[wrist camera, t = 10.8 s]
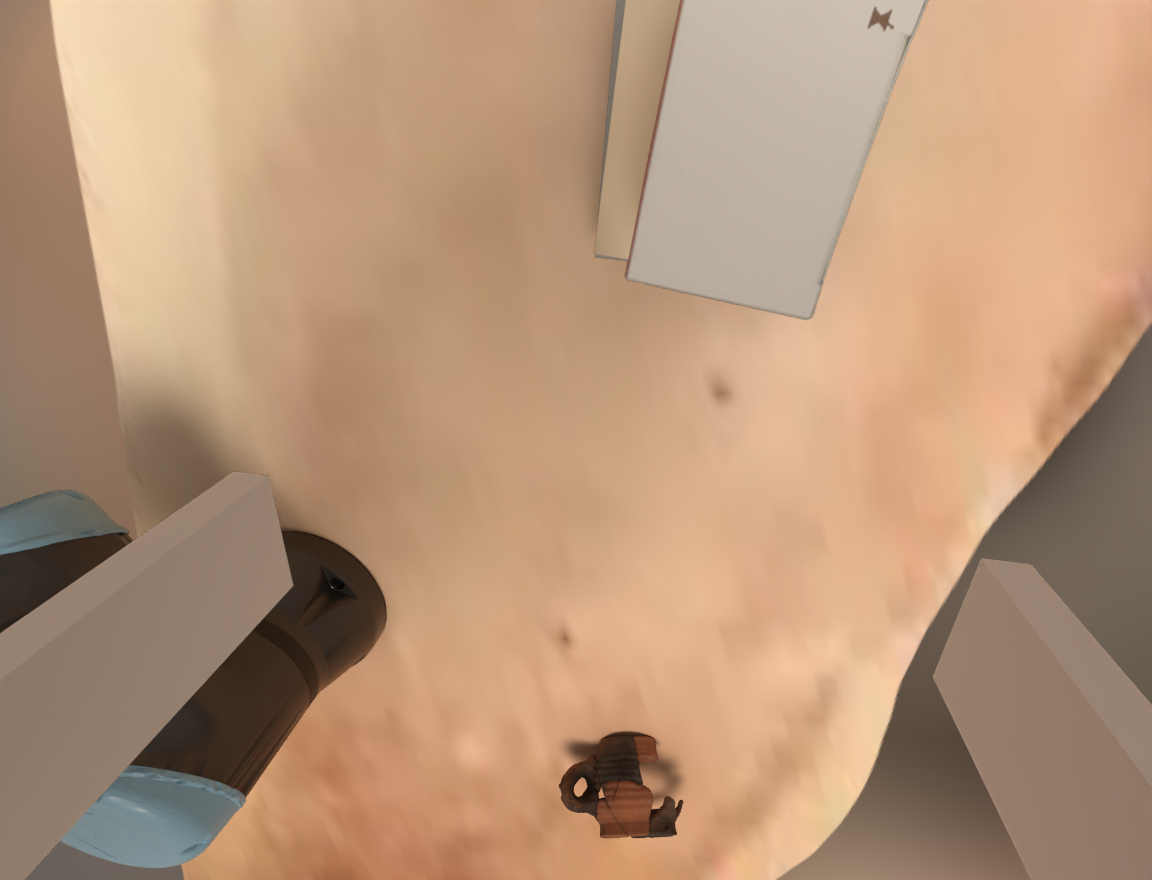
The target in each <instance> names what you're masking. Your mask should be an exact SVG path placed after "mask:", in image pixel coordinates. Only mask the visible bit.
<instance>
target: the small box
mask: <svg viewBox="0 0 1152 880" xmlns="http://www.w3.org/2000/svg"><path fill="white" fill-rule="evenodd" d="M927 3H928V0H680V3H679V8H678V13H677V18H676V23H675V28H674V33H673V38H672V43H671V48H670V53H669V58H668V63H667V67H666V72H665V77H664V82H663V87H662V92H661V97H660V102H659V107H658V111H657V116H656V121H655V126H654V131H653V136H652V141H651V146H650V150H649V155H648V161H647V166H646V171H645V176H644V182H643V187H642V192H641V197H640V202H639V207H638V213H637V218H636V223H635V228H634V233H633V238H632V243H631V248H630V253H629V258H628V263H627V268H626V273H625V278H626V279H627V280H628V281H632V282H637V283H642V284H646V285H650V286H655V287H659V288H664V289H668V290H672V291H677V292H681V293H686V294H690V295H695V296H699V297H704V298H708V299H713V300H717V301H722V302H726V303H731V304H735V305H740V306H744V307H749V308H753V309H758V310H762V311H767V312H771V313H776V314H780V315H785V316H790V317H794V318H798V319H803V320H809V319H811V318H812V317H813V314H814V312H815V308H816V305H817V301H818V298H819V295H820V292H821V288H822V285H823V282H824V279H825V276H826V273H827V270H828V267H829V264H830V261H831V258H832V255H833V252H834V249H835V246H836V243H837V240H838V238H839V235H840V232H841V229H842V227H843V224H844V221H845V218H846V216H847V213H848V210H849V207H850V205H851V202H852V199H853V196H854V193H855V191H856V188H857V185H858V182H859V179H860V176H861V174H862V171H863V168H864V165H865V163H866V160H867V157H868V155H869V152H870V149H871V146H872V143H873V141H874V138H875V135H876V133H877V130H878V127H879V125H880V122H881V119H882V117H883V114H884V111H885V108H886V106H887V103H888V100H889V97H890V95H891V92H892V90H893V87H894V84H895V82H896V79H897V77H898V74H899V71H900V69H901V66H902V63H903V61H904V58H905V56H906V53H907V51H908V48H909V46H910V43H911V41H912V39H913V37H914V35H915V32H916V30H917V27H918V25H919V22H920V20H921V17H922V15H923V12H924V10H925V8H926V5H927Z"/></svg>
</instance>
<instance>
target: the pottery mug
mask: <svg viewBox="0 0 1152 880" xmlns="http://www.w3.org/2000/svg"><path fill="white" fill-rule="evenodd" d="M657 760H658V754H657V751H656V745H655V739H654V738H653V737H648V736H613V737H608V738H604V739H602V740H601V742H600V747H599V751H598V754H597V757H596V756H595V755H593V754H592V755H591V756H590V757H589V758H588V759H587V760H586V761H583V762H580V763H577V764H574V765H573V766H571V767H570V768H569V769H568V771H567V772H566V773H565V774H564V776H563V777H562V780H561V783H560V784H559V788H560V789H561V793H562V796H561V800H562V802H563V804H564V805H565V806H566V808H568V809H569V810H570V811H573V812H577V813H589V814H591V815H592V816H594V817H595V818H596V820H597V821H598V822H599V824H600V837H601V838H620V837H628V836H631V837H632V838H646V837H650V838H653V837H671V836H673V835H677V832H676V829H675V822H676V819H677V817H678V816H679V814H680V812H681V809H682V805H683V800H680V801H679V803H678V806H677V807H676V808H675V801H674V800H673V799H672V798H671V797H669V796H666V797H665V799H664V803H663V805H662V806H661V807H660V809H652V803H653V796H652V793H651V791H650V789H649V788H647V787H646V786H644V785H643V781H642V778H641V774H640V769H639V764H640V763H644V762H656V761H657ZM581 777H583V778H585V779H586V782H587V789H586V790H585V792H584V793H583V795H582V796H580V797H577V796H576V795H575V794H574V786H575V784H576V783H577V781H578V780H579V779H580V778H581ZM601 787H602V789H603V793H604V796H605V798H601V799H599V795H598V794H599V791H600V789H601Z"/></svg>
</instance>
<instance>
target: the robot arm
mask: <svg viewBox="0 0 1152 880" xmlns="http://www.w3.org/2000/svg"><path fill="white" fill-rule="evenodd" d="M128 533H129V531H128V530H127V529H126V528H124V527H121V526H118V525H117V524H116V523H115V522H114V521H113V520H112V519H111V518H110V517H109V516H108V515H107V514H106V513H105V512H104V511H103V510H102V509H101V507H100V506H99V505H98V504H97V503H96V502H95V501H94V500H93V499H91V498H90V497H89V496H87V495H85V494H83V493H80V492H77V491H72V490H57V491H51V492H47V493H44V494H41V495H37V496H34V497H31V498H28V499H25V500H22V501H19V502H17V503H14V504H11V505H8V506H5V507H3V508H0V880H24V879H25V878H26V877H27V876H28V875H29V874H30V873H31V871H32V870H33V869H34V868H35V867H36V866H37V865H38V864H39V863H40V862H41V860H42V859H43V858H44V857H45V856H46V855H47V854H48V853H49V852H50V851H51V849H52V848H53V847H54V846H55V845H56V844H57V843H58V842H59V841H61V842H63V843H65V844H67V845H69V846H72V847H74V848H76V849H78V850H80V851H83V852H85V853H88V854H90V855H93V856H96V857H99V858H102V859H105V860H109V861H113V862H116V863H120V864H125V865H130V866H137V867H147V868H165V867H172V866H176V865H180V864H183V863H186V862H188V861H190V860H192V859H193V858H195V857H197V856H198V855H199V854H201V853H202V852H203V851H204V850H205V849H206V848H207V847H208V846H209V845H210V844H211V842H212V841H213V840H214V839H215V837H216V836H217V835H218V834H219V832H220V831H221V830H222V829H223V827H224V826H225V825H226V824H227V822H228V821H229V820H230V819H231V818H232V816H233V815H234V814H235V813H236V811H238V810H239V809H240V808H241V807H242V806H243V805H244V803H245V801H246V797H247V795H248V794H249V792H250V791H251V790H252V788H253V787H254V785H255V784H256V782H257V781H258V779H259V778H260V777H261V775H262V774H263V772H264V771H265V769H266V768H267V766H268V765H269V764H270V762H271V761H272V759H273V758H274V756H275V755H276V753H277V752H278V751H279V749H280V748H281V746H282V745H283V743H284V742H285V740H286V739H287V738H288V736H289V735H290V733H291V732H292V730H293V729H294V727H295V726H296V725H297V723H298V722H299V720H300V719H301V717H302V716H303V714H304V713H305V711H306V710H307V709H308V707H309V706H310V704H311V703H312V701H313V700H314V699H315V697H316V696H317V694H318V693H319V692H320V691H322V690H323V689H324V688H326V687H327V686H328V685H329V684H331V683H332V682H333V681H335V680H336V679H337V678H338V677H340V676H341V675H342V674H343V673H344V672H346V671H347V670H348V669H349V668H350V667H352V666H354V665H355V664H357V663H358V662H360V661H361V660H362V659H364V658H365V657H366V655H367V654H368V653H369V652H370V651H371V649H372V648H373V646H374V645H375V643H376V642H377V640H378V639H379V637H380V636H381V634H382V632H383V630H384V627H385V622H386V609H385V603H384V600H383V597H382V594H381V592H380V590H379V588H378V586H377V584H376V582H375V581H374V579H373V578H372V577H371V575H370V574H369V573H368V572H367V570H366V569H365V568H364V567H363V566H362V565H361V564H360V563H359V562H358V561H357V560H356V559H355V558H353V557H352V556H351V555H350V554H348V553H347V552H345V551H344V550H342V549H341V548H339V547H338V546H336V545H334V544H332V543H330V542H328V541H326V540H324V539H321V538H318V537H315V536H312V535H308V534H304V533H298V532H281V528H280V524H279V520H278V515H277V511H276V506H275V502H274V498H273V493H272V489H271V484H270V480H269V476H267V475H258V474H250V473H241V472H232V473H231V474H229V475H228V476H226V477H225V478H224V479H222V480H221V481H219V482H218V483H216V484H215V485H213V486H212V487H211V488H209V489H208V490H206V491H205V492H203V493H202V494H200V495H199V496H198V497H196V498H195V499H193V500H192V501H190V502H189V503H187V504H186V505H185V506H183V507H182V508H180V509H179V510H177V511H176V512H174V513H173V514H172V515H170V516H169V517H167V518H166V519H164V520H163V521H161V522H160V523H159V524H157V525H156V526H154V527H153V528H151V529H150V530H149V531H147V532H146V533H144V534H143V535H141V536H140V537H138V538H137V539H136V540H134V541H133V540H132V539H131V538H130V536H129V535H128ZM933 678H934V680H935V682H936V684H937V686H938V688H939V690H940V692H941V694H942V697H943V699H944V701H945V703H946V705H947V707H948V709H949V711H950V713H951V715H952V717H953V719H954V721H955V723H956V726H957V728H958V730H959V732H960V734H961V736H962V738H963V740H964V742H965V744H966V746H967V748H968V750H969V752H970V755H971V757H972V758H973V761H974V763H975V765H976V767H977V769H978V771H979V773H980V775H981V777H982V779H983V781H984V784H985V785H986V788H987V790H988V792H989V794H990V796H991V798H992V800H993V802H994V804H995V806H996V808H997V810H998V812H999V814H1000V817H1001V819H1002V820H1003V823H1004V825H1005V827H1006V829H1007V831H1008V833H1009V835H1010V837H1011V839H1012V841H1013V843H1014V845H1015V847H1016V850H1017V852H1018V854H1019V855H1020V858H1021V860H1022V862H1023V864H1024V866H1025V868H1026V870H1027V872H1028V875H1029V877H1030V878H1031V880H1152V705H1151V704H1150V702H1149V701H1148V700H1147V699H1146V698H1145V697H1144V696H1143V694H1142V693H1141V692H1140V691H1139V690H1138V689H1137V687H1136V686H1135V685H1134V684H1133V683H1132V682H1131V680H1130V679H1129V678H1128V677H1127V676H1126V674H1125V673H1124V672H1123V671H1122V670H1121V669H1120V668H1119V666H1118V665H1117V664H1116V663H1115V662H1114V660H1113V659H1112V658H1111V657H1110V656H1109V655H1108V653H1107V652H1106V651H1105V650H1104V649H1103V648H1102V647H1101V645H1100V644H1099V643H1098V642H1097V641H1096V640H1095V638H1094V637H1093V636H1092V635H1091V634H1090V633H1089V631H1088V630H1087V629H1086V628H1085V627H1084V626H1083V624H1082V623H1081V622H1080V621H1079V620H1078V619H1077V617H1076V616H1075V615H1074V614H1073V613H1072V612H1071V610H1070V609H1069V608H1068V607H1067V606H1066V605H1065V604H1064V602H1063V601H1062V600H1061V599H1060V598H1059V597H1058V595H1057V594H1056V593H1055V592H1054V591H1053V590H1052V588H1051V587H1050V586H1049V585H1048V584H1047V583H1046V581H1045V580H1044V579H1043V578H1042V577H1041V576H1040V575H1039V573H1038V572H1037V571H1036V570H1035V569H1034V567H1033V566H1032V565H1031V564H1024V563H1015V562H1006V561H998V560H989V559H981V561H980V563H979V565H978V568H977V570H976V573H975V575H974V578H973V580H972V583H971V585H970V587H969V590H968V592H967V595H966V597H965V600H964V602H963V605H962V607H961V610H960V612H959V614H958V617H957V619H956V622H955V624H954V627H953V629H952V631H951V634H950V636H949V639H948V641H947V644H946V646H945V649H944V651H943V654H942V656H941V659H940V661H939V663H938V666H937V668H936V671H935V673H934V675H933Z"/></svg>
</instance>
